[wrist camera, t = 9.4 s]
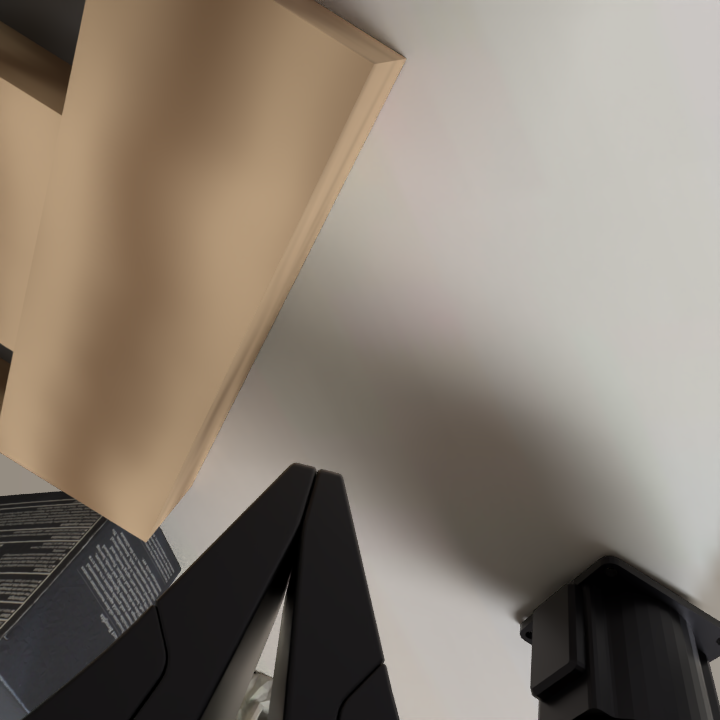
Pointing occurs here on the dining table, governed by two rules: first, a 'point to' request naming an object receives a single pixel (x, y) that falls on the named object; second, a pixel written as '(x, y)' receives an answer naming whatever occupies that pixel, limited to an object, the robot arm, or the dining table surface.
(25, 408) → the trap board
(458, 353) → the dining table surface
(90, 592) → the small box
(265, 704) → the ceramic cottage
